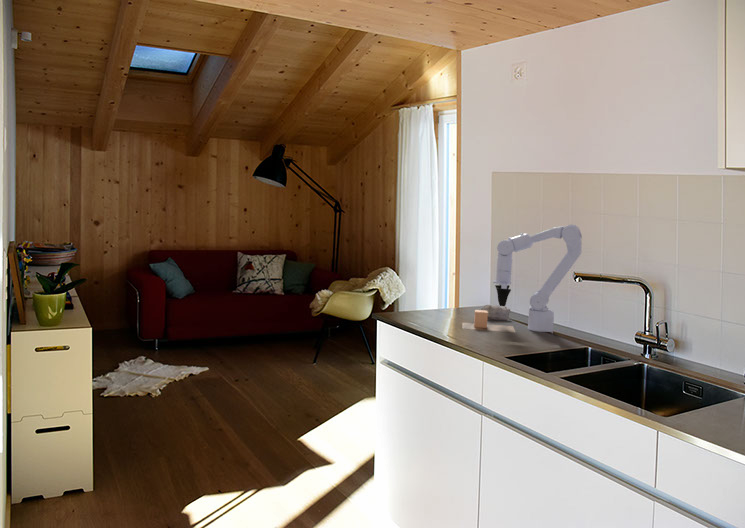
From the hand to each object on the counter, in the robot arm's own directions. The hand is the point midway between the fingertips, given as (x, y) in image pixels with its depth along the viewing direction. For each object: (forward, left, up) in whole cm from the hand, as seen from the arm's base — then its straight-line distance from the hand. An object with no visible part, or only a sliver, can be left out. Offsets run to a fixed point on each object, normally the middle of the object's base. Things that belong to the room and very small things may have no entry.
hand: (501, 304), depth 255 cm
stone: (+2, -15, -10) cm, 18 cm away
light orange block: (+8, +5, -8) cm, 13 cm away
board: (+5, +6, -9) cm, 12 cm away
